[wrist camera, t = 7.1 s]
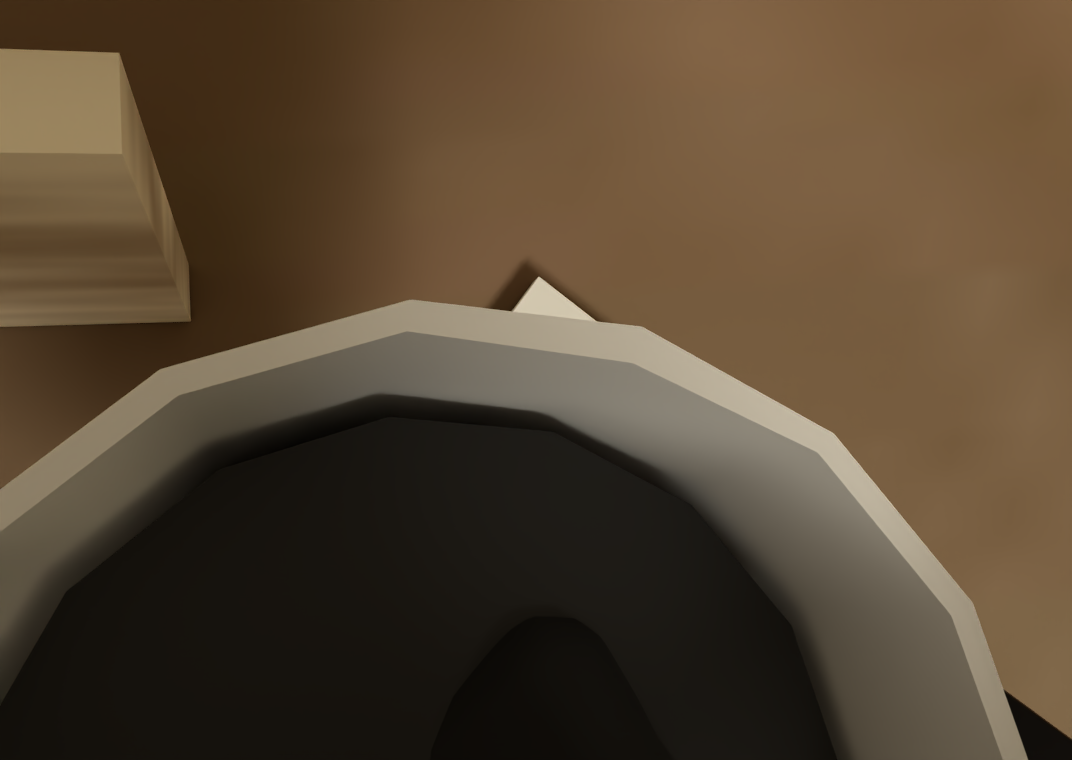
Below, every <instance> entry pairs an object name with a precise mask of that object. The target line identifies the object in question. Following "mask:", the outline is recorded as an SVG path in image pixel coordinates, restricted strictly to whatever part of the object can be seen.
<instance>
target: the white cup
mask: <svg viewBox="0 0 1072 760" xmlns="http://www.w3.org/2000/svg"><path fill="white" fill-rule="evenodd" d="M0 760H1028V758H1027V755H1026V752H1025V749H1024V746H1023V744H1022V741H1021V738H1020V735H1019V732H1018V730H1017V727H1016V724H1015V721H1014V718H1013V715H1012V713H1011V710H1010V707H1009V704H1008V701H1007V698H1006V696H1005V693H1004V690H1003V687H1002V684H1001V681H1000V679H999V676H998V673H997V670H996V667H995V664H994V662H993V659H992V656H991V653H990V650H989V647H988V645H987V642H986V639H985V636H984V633H983V630H982V628H981V625H980V622H979V619H978V616H977V613H976V611H975V608H974V605H973V603H972V602H971V600H970V599H969V598H968V597H967V595H966V594H965V593H964V592H963V591H962V589H961V588H960V587H959V586H958V584H957V583H956V582H955V581H954V580H953V578H952V577H951V576H950V575H949V573H948V572H947V571H946V570H945V569H944V567H943V566H942V565H941V564H940V562H939V561H938V560H937V559H936V558H935V556H934V555H933V554H932V553H931V552H930V550H929V549H928V548H927V547H926V545H925V544H924V543H923V542H922V541H921V539H920V538H919V537H918V536H917V534H916V533H915V532H914V531H913V530H912V528H911V527H910V526H909V525H908V523H907V522H906V521H905V520H904V519H903V517H902V516H901V515H900V514H899V512H898V511H897V510H896V509H895V508H894V506H893V505H892V504H891V503H890V501H889V500H888V499H887V498H886V497H885V495H884V494H883V493H882V492H881V490H880V489H879V488H878V487H877V486H876V484H875V483H874V482H873V481H872V480H871V478H870V477H869V476H868V475H867V473H866V472H865V471H864V470H863V469H862V467H861V466H860V465H859V464H858V462H857V461H856V460H855V459H854V458H853V456H852V455H851V454H850V453H849V451H848V450H847V449H846V448H845V447H844V445H843V444H842V443H841V442H840V440H839V439H838V438H837V437H836V436H835V434H834V433H832V432H830V431H828V430H826V429H825V428H823V427H821V426H819V425H817V424H816V423H814V422H812V421H810V420H808V419H807V418H805V417H803V416H801V415H800V414H798V413H796V412H794V411H792V410H791V409H789V408H787V407H785V406H783V405H782V404H780V403H778V402H776V401H774V400H773V399H771V398H769V397H767V396H765V395H764V394H762V393H760V392H758V391H756V390H755V389H753V388H751V387H749V386H747V385H746V384H744V383H742V382H740V381H739V380H737V379H735V378H733V377H731V376H730V375H728V374H726V373H724V372H722V371H721V370H719V369H717V368H715V367H713V366H712V365H710V364H708V363H706V362H704V361H703V360H701V359H699V358H697V357H695V356H694V355H692V354H690V353H688V352H687V351H685V350H683V349H681V348H679V347H678V346H676V345H674V344H672V343H670V342H669V341H667V340H665V339H663V338H661V337H660V336H658V335H656V334H654V333H652V332H651V331H649V330H647V329H645V328H643V327H640V326H631V325H623V324H614V323H606V322H597V321H589V320H580V319H572V318H563V317H555V316H546V315H538V314H529V313H521V312H512V311H504V310H495V309H487V308H478V307H470V306H461V305H453V304H444V303H436V302H427V301H419V300H407V301H404V302H400V303H396V304H393V305H389V306H386V307H382V308H378V309H375V310H371V311H368V312H364V313H360V314H357V315H353V316H350V317H346V318H342V319H339V320H335V321H332V322H328V323H324V324H321V325H317V326H314V327H310V328H306V329H303V330H299V331H296V332H292V333H288V334H285V335H281V336H278V337H274V338H270V339H267V340H263V341H260V342H256V343H252V344H249V345H245V346H242V347H238V348H234V349H231V350H227V351H224V352H220V353H216V354H213V355H209V356H206V357H202V358H198V359H195V360H191V361H188V362H184V363H180V364H177V365H173V366H170V367H166V368H162V369H160V370H158V371H157V372H156V373H154V374H153V375H152V376H150V377H149V378H148V379H146V380H145V381H144V382H142V383H141V384H140V385H138V386H137V387H136V388H134V389H133V390H132V391H130V392H129V393H128V394H126V395H125V396H124V397H122V398H121V399H120V400H118V401H117V402H116V403H114V404H113V405H112V406H110V407H109V408H108V409H106V410H105V411H104V412H102V413H101V414H100V415H98V416H97V417H96V418H94V419H93V420H92V421H90V422H89V423H88V424H86V425H85V426H84V427H83V428H81V429H80V430H79V431H77V432H76V433H75V434H73V435H72V436H71V437H69V438H68V439H67V440H65V441H64V442H63V443H61V444H60V445H59V446H57V447H56V448H55V449H53V450H52V451H51V452H49V453H48V454H47V455H45V456H44V457H43V458H41V459H40V460H39V461H37V462H36V463H35V464H33V465H32V466H31V467H29V468H28V469H27V470H25V471H24V472H23V473H21V474H20V475H19V476H17V477H16V478H15V479H13V480H12V481H11V482H9V483H8V484H7V485H5V486H4V487H3V488H1V489H0Z"/></svg>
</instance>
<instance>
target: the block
mask: <svg viewBox="0 0 1072 760" xmlns="http://www.w3.org/2000/svg"><path fill="white" fill-rule="evenodd" d="M155 322H191V313H190V285H189V264H188V261H187V258H186V255H185V252H184V249H183V246H182V243H181V240H180V237H179V234H178V230H177V227H176V224H175V221H174V218H173V215H172V212H171V209H170V206H169V203H168V200H167V197H166V194H165V191H164V188H163V185H162V182H161V179H160V176H159V173H158V170H157V167H156V164H155V161H154V157H153V154H152V151H151V148H150V145H149V142H148V139H147V136H146V133H145V130H144V127H143V124H142V121H141V118H140V115H139V112H138V109H137V106H136V103H135V100H134V97H133V94H132V91H131V87H130V84H129V81H128V78H127V75H126V72H125V69H124V66H123V63H122V60H121V57H120V54H119V53H110V52H81V51H51V50H22V49H0V327H13V326H49V325H84V324H120V323H155Z"/></svg>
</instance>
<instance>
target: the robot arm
mask: <svg viewBox="0 0 1072 760" xmlns="http://www.w3.org/2000/svg"><path fill="white" fill-rule="evenodd" d="M1003 690H1004V689H1003ZM1004 693H1005V696H1006V698H1007V701H1008V704H1009V707H1010V710H1011V713H1012V715H1013V718H1014V721H1015V724H1016V727H1017V730H1018V732H1019V735H1020V738H1021V741H1022V744H1023V746H1024V749H1025V752H1026V755H1027V758H1028V760H1072V739H1071V738H1069V737H1068V736H1067V735H1065V734H1064V733H1063V732H1061V731H1060V730H1058V729H1057V728H1056V727H1054V726H1053V725H1052V724H1050V723H1049V722H1048V721H1046V720H1045V719H1043V718H1042V717H1041V716H1039V715H1038V714H1037V713H1035V712H1034V711H1033V710H1031V709H1030V708H1028V707H1027V706H1026V705H1024V704H1023V703H1022V702H1020V701H1019V700H1018V699H1016V698H1015V697H1013V696H1012V695H1011V694H1009V693H1008V692H1007V691H1005V690H1004Z"/></svg>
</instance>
